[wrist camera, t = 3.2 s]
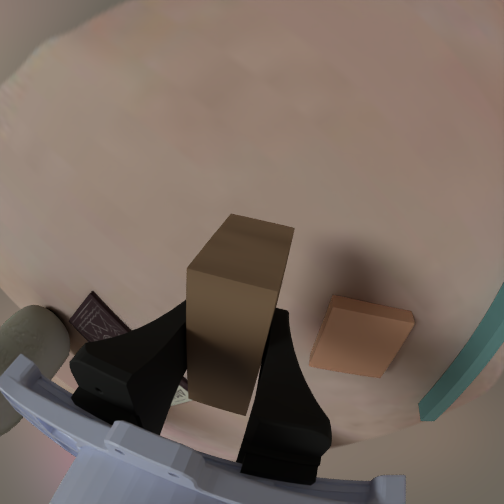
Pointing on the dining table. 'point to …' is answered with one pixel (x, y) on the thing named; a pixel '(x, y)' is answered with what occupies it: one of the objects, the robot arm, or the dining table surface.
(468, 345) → the rail
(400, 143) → the dining table surface
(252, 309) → the tall cardboard box
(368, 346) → the tile
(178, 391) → the chocolate bar
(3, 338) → the olive grey vase
